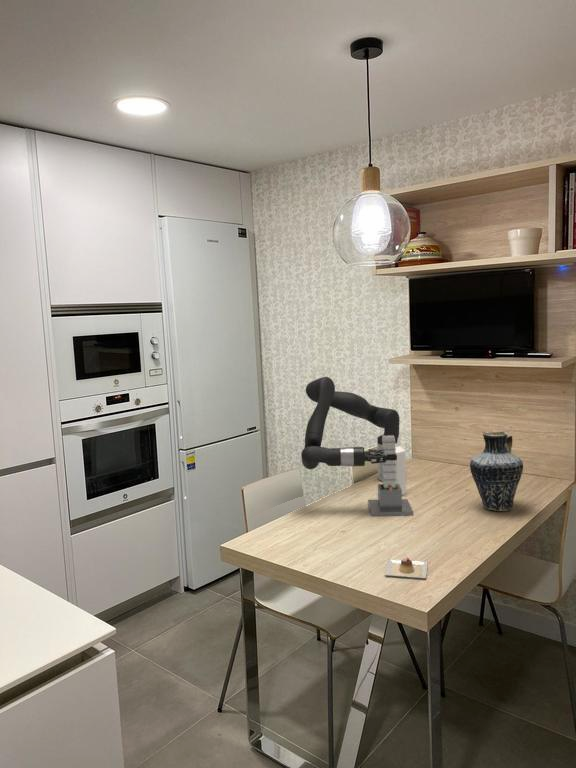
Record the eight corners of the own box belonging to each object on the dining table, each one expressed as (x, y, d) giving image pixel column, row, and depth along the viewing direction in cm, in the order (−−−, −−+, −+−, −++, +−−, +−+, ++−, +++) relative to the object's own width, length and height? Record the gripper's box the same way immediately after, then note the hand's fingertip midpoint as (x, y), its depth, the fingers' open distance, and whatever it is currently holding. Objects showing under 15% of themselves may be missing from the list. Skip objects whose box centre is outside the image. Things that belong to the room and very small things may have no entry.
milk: (406, 493, 261) (405, 443, 258) (397, 497, 257) (397, 445, 254) (394, 491, 266) (394, 441, 263) (386, 494, 261) (385, 443, 259)
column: (382, 489, 243) (381, 435, 241) (394, 489, 243) (394, 435, 241) (384, 493, 239) (383, 438, 236) (396, 493, 238) (395, 437, 236)
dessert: (427, 564, 189) (427, 550, 189) (426, 581, 178) (426, 565, 177) (388, 562, 192) (388, 547, 192) (384, 578, 181) (384, 562, 180)
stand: (367, 503, 250) (367, 479, 249) (407, 502, 249) (407, 478, 248) (371, 516, 234) (370, 490, 233) (413, 515, 233) (412, 490, 232)
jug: (511, 519, 225) (512, 439, 221) (461, 510, 237) (461, 434, 234) (531, 505, 240) (531, 430, 237) (483, 496, 253) (483, 425, 249)
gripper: (352, 451, 232) (398, 450, 232) (351, 443, 247) (393, 442, 246) (353, 470, 233) (398, 469, 232) (351, 461, 248) (394, 460, 247)
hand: (395, 455), depth 239 cm, fingers closed on column, 4 cm apart
